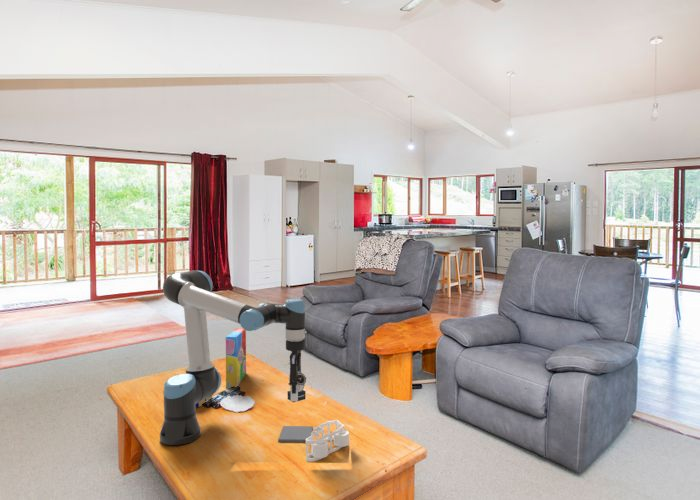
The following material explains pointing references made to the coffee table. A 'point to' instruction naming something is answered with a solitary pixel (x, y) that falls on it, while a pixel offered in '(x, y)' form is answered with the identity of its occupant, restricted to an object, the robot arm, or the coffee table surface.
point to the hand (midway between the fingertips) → (295, 397)
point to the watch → (299, 387)
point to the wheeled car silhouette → (326, 440)
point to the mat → (295, 433)
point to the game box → (235, 357)
